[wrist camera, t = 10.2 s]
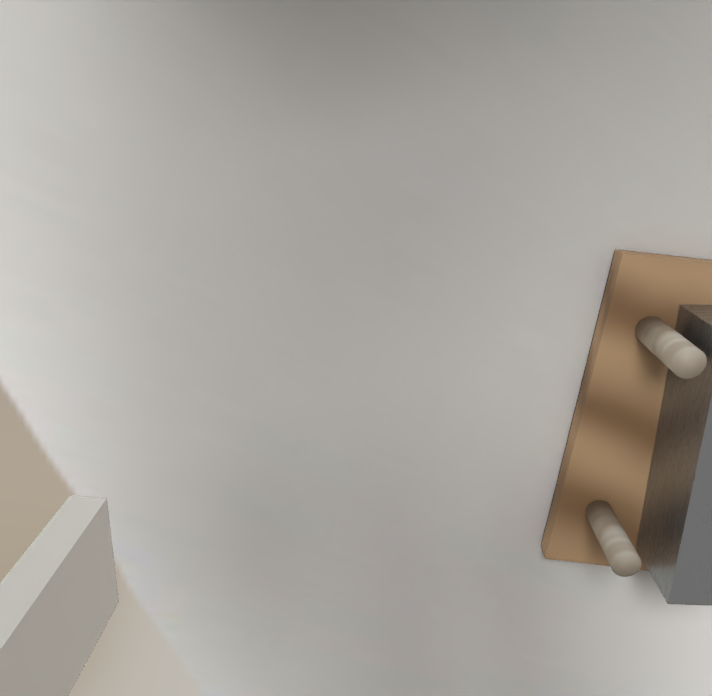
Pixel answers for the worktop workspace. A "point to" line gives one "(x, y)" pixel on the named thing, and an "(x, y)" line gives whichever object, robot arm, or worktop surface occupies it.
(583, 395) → the peg rack
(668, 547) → the steel bar
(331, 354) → the worktop surface
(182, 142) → the worktop surface
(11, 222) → the worktop surface
